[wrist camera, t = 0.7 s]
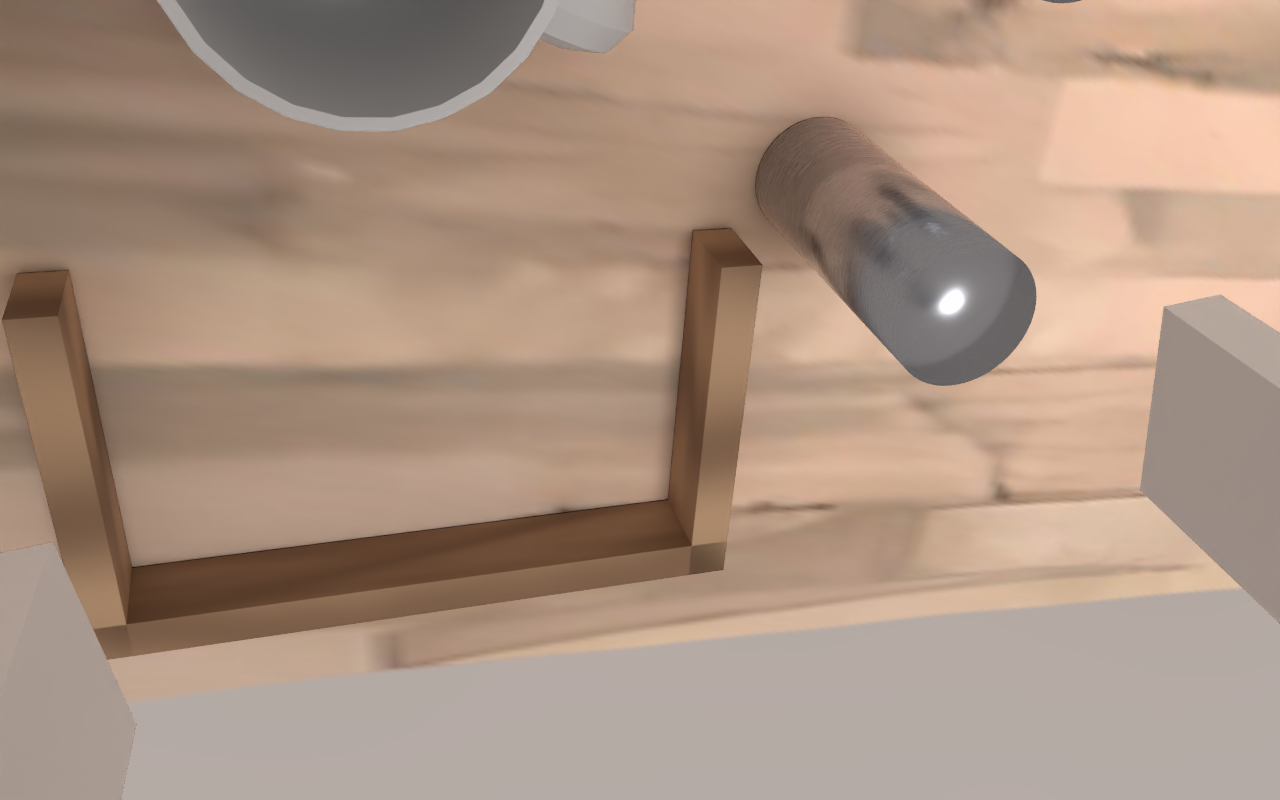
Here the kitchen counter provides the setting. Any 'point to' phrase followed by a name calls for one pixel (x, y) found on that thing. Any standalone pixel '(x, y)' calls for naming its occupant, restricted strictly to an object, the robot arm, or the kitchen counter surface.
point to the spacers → (896, 251)
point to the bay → (394, 564)
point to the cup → (384, 51)
